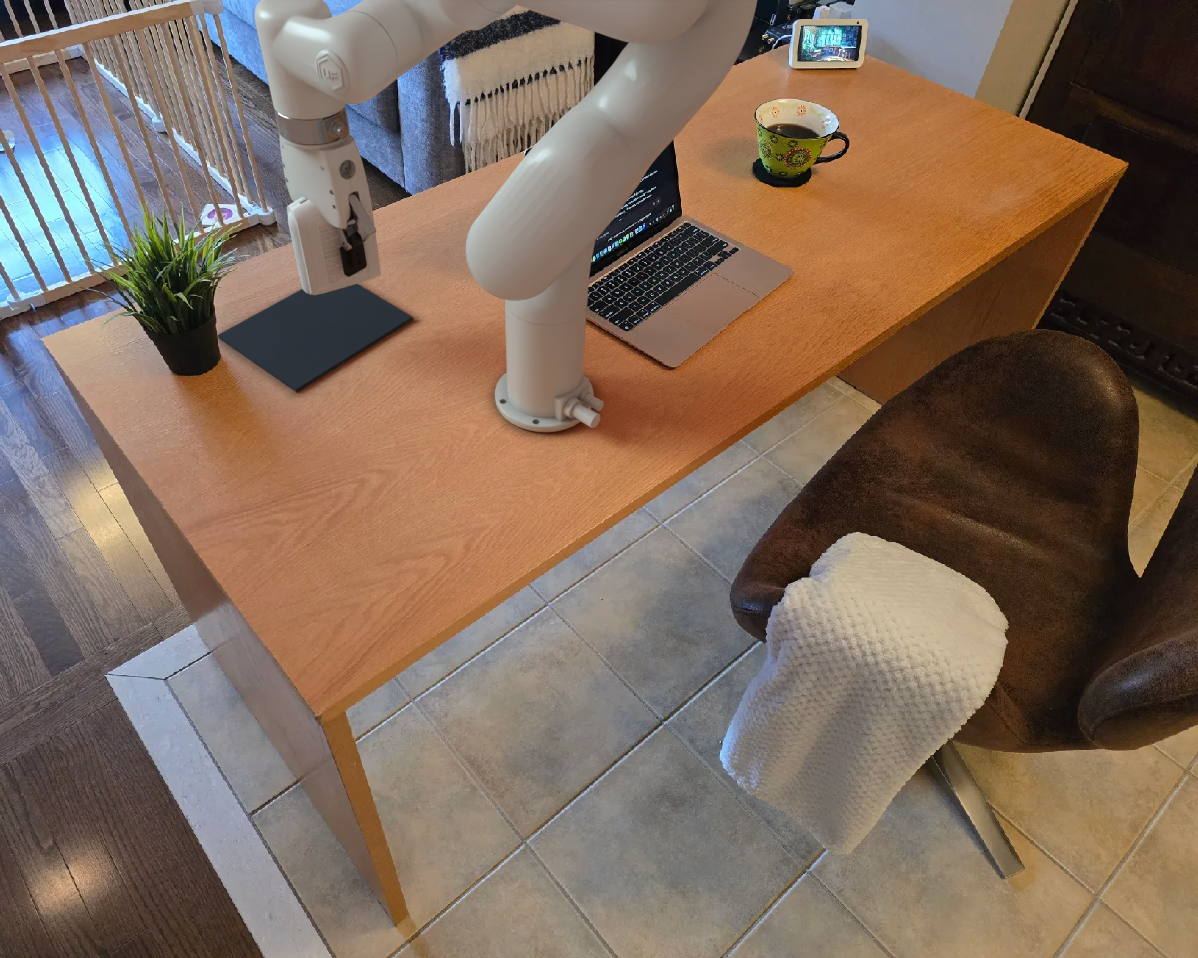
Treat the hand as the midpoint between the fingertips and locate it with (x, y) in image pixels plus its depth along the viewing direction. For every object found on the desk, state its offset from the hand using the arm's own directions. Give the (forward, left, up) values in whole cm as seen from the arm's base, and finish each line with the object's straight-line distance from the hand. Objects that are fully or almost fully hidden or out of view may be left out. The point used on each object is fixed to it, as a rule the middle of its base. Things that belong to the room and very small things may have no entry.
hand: (338, 260), depth 109 cm
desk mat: (+5, +2, -12) cm, 13 cm away
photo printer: (0, 0, -3) cm, 3 cm away
